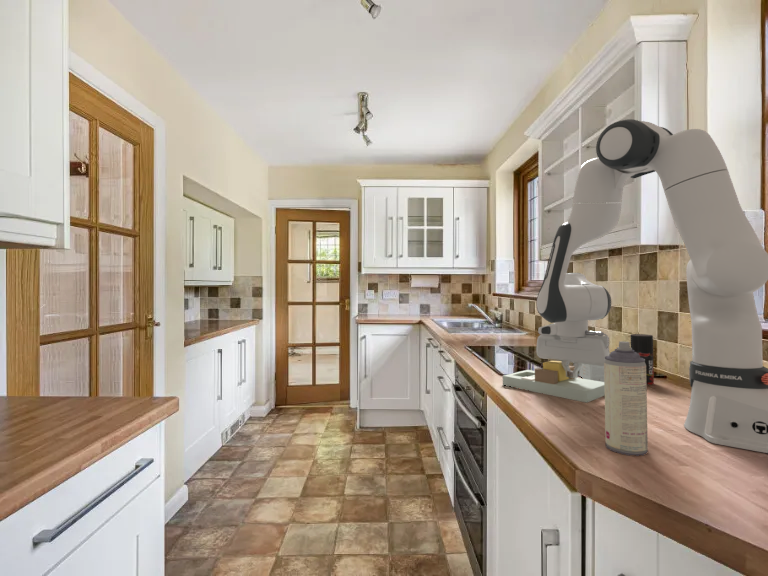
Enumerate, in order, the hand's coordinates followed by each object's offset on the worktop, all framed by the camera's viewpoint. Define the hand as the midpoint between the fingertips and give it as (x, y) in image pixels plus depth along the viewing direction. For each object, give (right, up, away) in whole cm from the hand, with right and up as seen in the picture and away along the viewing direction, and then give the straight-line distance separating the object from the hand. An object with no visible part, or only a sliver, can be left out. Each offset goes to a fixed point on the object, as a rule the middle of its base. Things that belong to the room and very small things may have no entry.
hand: (571, 377), depth 116 cm
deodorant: (+27, -4, +11) cm, 30 cm away
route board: (-3, -5, +4) cm, 7 cm away
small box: (+14, -5, +16) cm, 22 cm away
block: (-3, -1, +4) cm, 5 cm away
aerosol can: (-9, -5, -41) cm, 42 cm away
